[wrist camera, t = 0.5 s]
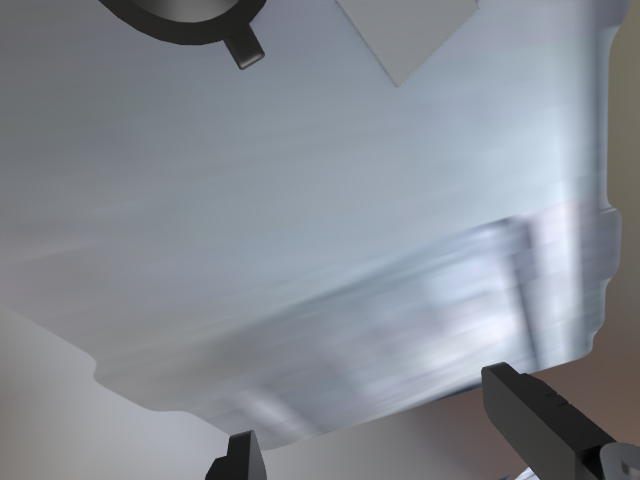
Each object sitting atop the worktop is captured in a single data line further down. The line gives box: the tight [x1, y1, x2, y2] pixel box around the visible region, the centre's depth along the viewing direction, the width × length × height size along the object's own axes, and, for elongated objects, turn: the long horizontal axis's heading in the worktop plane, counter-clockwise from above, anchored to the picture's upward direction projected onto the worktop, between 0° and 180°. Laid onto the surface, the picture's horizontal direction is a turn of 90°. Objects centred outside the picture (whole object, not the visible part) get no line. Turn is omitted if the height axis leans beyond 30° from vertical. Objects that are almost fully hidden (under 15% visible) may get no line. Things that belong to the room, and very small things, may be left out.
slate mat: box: [335, 0, 479, 87], centre depth 31 cm, size 10×10×1 cm
